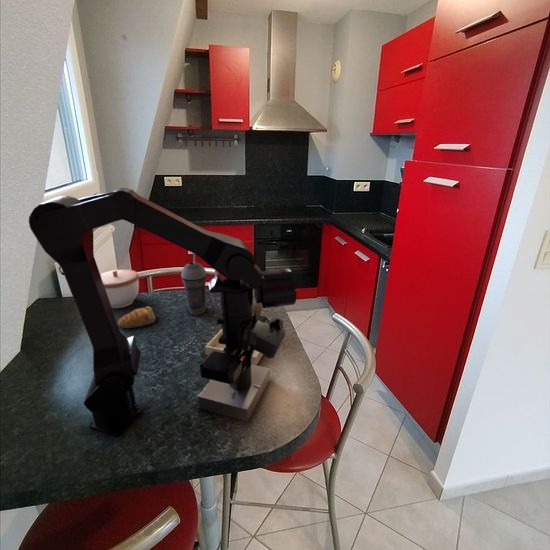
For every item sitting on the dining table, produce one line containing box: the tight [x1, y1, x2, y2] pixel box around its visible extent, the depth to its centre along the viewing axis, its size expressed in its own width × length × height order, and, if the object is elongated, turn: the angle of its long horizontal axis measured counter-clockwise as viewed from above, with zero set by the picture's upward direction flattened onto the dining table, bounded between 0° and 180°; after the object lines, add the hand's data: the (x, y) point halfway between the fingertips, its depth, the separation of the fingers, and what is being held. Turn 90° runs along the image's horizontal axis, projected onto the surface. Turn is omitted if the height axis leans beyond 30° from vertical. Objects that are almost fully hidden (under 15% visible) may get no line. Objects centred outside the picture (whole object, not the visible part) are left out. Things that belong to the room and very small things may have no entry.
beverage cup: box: [180, 253, 208, 316], centre depth 93 cm, size 7×7×20 cm
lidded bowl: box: [100, 269, 140, 309], centre depth 100 cm, size 13×13×11 cm
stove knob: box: [235, 356, 252, 390], centre depth 62 cm, size 4×4×5 cm
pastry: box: [117, 305, 156, 329], centre depth 90 cm, size 9×7×4 cm
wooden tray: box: [204, 328, 264, 366], centre depth 80 cm, size 13×13×2 cm
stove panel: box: [197, 365, 271, 422], centre depth 64 cm, size 12×10×3 cm
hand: (240, 380), depth 63 cm, fingers closed on stove knob, 4 cm apart
